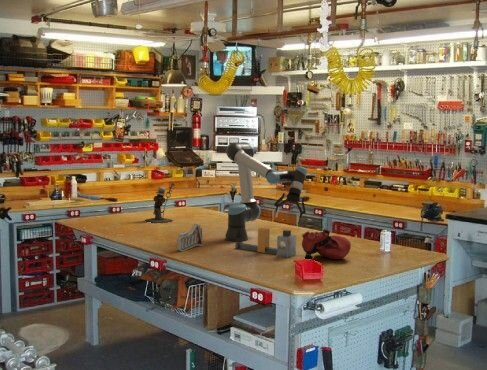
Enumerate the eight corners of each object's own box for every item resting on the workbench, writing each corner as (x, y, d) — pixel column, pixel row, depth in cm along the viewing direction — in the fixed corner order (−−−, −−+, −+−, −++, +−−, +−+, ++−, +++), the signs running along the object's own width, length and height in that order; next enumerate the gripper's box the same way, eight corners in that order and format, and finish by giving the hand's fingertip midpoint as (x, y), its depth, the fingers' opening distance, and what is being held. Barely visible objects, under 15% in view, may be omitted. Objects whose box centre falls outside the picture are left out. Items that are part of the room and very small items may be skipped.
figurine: (138, 222, 469) (138, 183, 465) (151, 217, 491) (151, 180, 487) (165, 224, 462) (166, 184, 459) (177, 219, 484) (178, 182, 481)
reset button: (282, 239, 361) (282, 230, 361) (285, 238, 364) (285, 229, 363) (287, 240, 359) (288, 231, 359) (290, 239, 362) (290, 230, 361)
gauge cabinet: (276, 256, 360) (277, 236, 359) (285, 253, 369) (285, 233, 367) (286, 257, 356) (287, 237, 355) (295, 254, 365) (296, 235, 363)
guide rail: (235, 248, 380) (235, 242, 379) (239, 247, 384) (239, 241, 384) (278, 255, 363) (278, 249, 362) (282, 253, 367) (282, 248, 366)
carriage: (257, 251, 370) (257, 228, 369) (262, 250, 375) (262, 227, 374) (264, 252, 368) (265, 229, 366) (269, 251, 372) (269, 228, 371)
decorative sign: (180, 255, 368) (179, 231, 365) (177, 255, 369) (175, 231, 366) (203, 245, 387) (201, 222, 384) (199, 245, 388) (198, 222, 386)
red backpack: (359, 233, 352) (320, 229, 336) (354, 267, 353) (314, 265, 336) (332, 226, 372) (293, 222, 356) (327, 258, 373) (288, 256, 356)
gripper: (276, 182, 386) (267, 212, 378) (315, 192, 382) (306, 222, 374) (276, 187, 393) (267, 216, 385) (314, 196, 389) (305, 227, 381)
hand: (286, 219), depth 380 cm, fingers open, 13 cm apart
